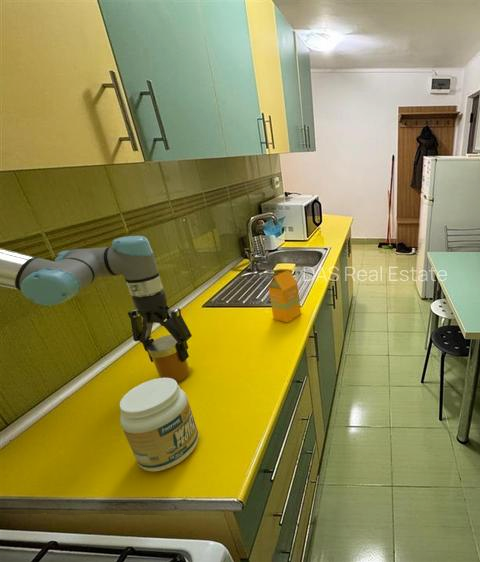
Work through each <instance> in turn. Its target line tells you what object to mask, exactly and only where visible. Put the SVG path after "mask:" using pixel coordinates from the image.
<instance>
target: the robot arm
mask: <svg viewBox="0 0 480 562" xmlns="http://www.w3.org/2000/svg"><path fill="white" fill-rule="evenodd" d="M111 244H112V245H111V246H104V247H91V248H90V247H89V248H74V249H69V250H63V251H60V252H58V253H57V254H56V257H55V258H54V261H53V260H49V259H46V258H41V257H38V256H33V255H28V254H24V253H21V252H17V251H14V250H10V249H5V248H2V247H0V287H3V288H8V289H12V290H17V291H21V294H22V295H23V296H24V297H25V298H26V299H27V300H29V301H31V302H33V303H34V304H36V305H39V306H46V307H47V306H56V305H59V304H62V303H64V302H66V301H67V300H70V299H72V298H74V297H76V296H77V295H78V294H79V293H80V292H81V291H82V290H83V289H85V288H86V287H88V286H89V285H91V284H93V283H94V282H95V281H96V280H98V279H100V278H105V277H106V278H107V277H115V276H123V278H124V281H125V283H126V285H127V289H128V291H129V294H130V295H131V300H132V303H133V306H134V308H133V309H131V310H130V311H128V312H127V316H128V317H129V319H130V324H131V332H132V339H133V341H134V342H139V343H141V344H142V346H143V348H144V351H145V352H147V355H148V357H149V361H150V362H151V363H154V362H153V359H152V357H151V356H150V355H149V352H148V349H147V346H148V345H149V344H150V343H151V342H152V341H154V340H155V339H154V338H152V337H153V336H152V331H153V326H154V323H156V324H159V325H160V326H161V327H164V329H166V330H167V332H168V333H169V335H172V336H173V337H174V338H175V340H176V341H177V343H176V347H177V350H178V353H179V357H180V360H181V362H184V361H185V360H186V359H187V360H188V358H189V357H190V355H189V352H188V349H189V345H188V341H189V340H190V339H191V338H192V337H193V335H192V333H191V330H190V329H189V327H188V325H187V323H186V321H185V319H184V318H183V316H182V311H181V309H180V307H176V308H175V309H173V308H170V307H169V306H168V298H167V295H166V291H165V289H164V284H163V282H162V278H161V275H160V272H159V270H158V269H159V268H158V267H157V266H158V265H157V263H156V259H155V256H154V251H153V250H152V247H151V245H150V242H149V240H148V238H146V236H143V235H128V236H122V237H121V236H120V237H118V238H114V239H113V240H112V241H111ZM180 337H181V338H180Z"/></svg>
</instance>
